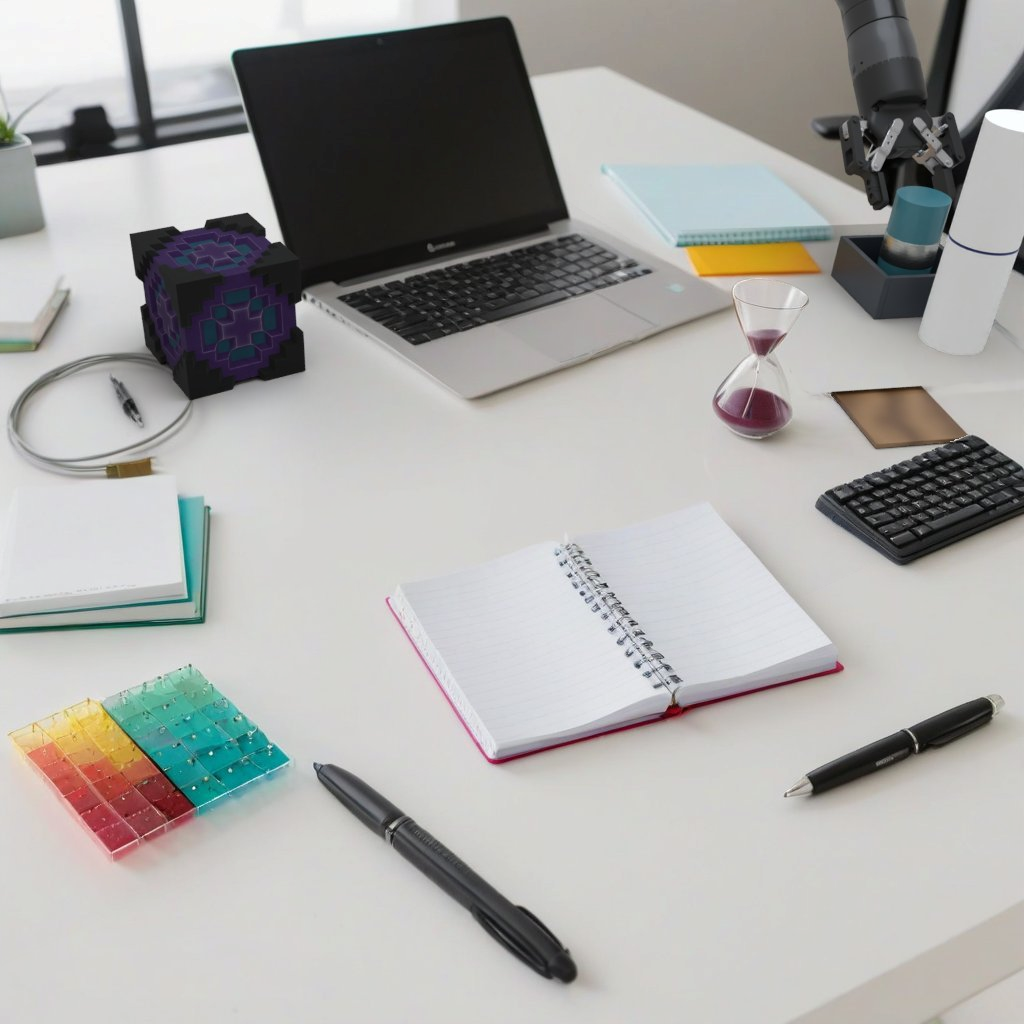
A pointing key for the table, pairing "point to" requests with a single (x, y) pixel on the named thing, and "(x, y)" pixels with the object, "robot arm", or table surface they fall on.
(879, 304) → the tub
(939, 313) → the cylindrical container
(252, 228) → the energy cube
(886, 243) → the can
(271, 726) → the table surface
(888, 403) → the coaster
